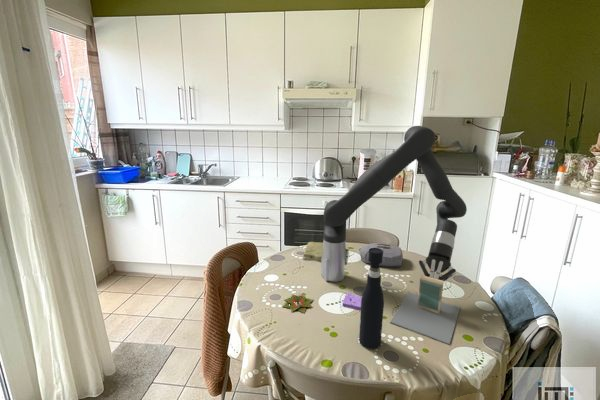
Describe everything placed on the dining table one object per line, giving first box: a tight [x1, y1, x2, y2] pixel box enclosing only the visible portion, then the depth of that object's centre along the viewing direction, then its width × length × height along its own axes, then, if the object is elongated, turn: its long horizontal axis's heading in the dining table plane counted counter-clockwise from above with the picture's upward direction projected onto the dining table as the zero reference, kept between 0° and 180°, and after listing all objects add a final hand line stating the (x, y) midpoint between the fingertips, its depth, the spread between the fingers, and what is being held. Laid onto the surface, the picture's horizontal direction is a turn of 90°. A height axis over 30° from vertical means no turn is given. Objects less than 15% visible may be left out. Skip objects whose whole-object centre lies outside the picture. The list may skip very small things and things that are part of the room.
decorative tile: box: [302, 241, 347, 263], centre depth 151 cm, size 19×20×4 cm
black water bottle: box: [358, 248, 385, 350], centre depth 88 cm, size 6×6×30 cm
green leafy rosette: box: [281, 292, 314, 314], centre depth 110 cm, size 12×12×5 cm
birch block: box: [418, 274, 445, 314], centre depth 105 cm, size 3×7×12 cm, turn 55°
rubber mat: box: [389, 291, 461, 346], centre depth 104 cm, size 22×18×1 cm
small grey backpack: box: [359, 242, 403, 268], centre depth 144 cm, size 15×8×20 cm
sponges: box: [341, 292, 362, 311], centre depth 110 cm, size 7×13×2 cm, turn 69°
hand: (431, 290), depth 106 cm, fingers closed
